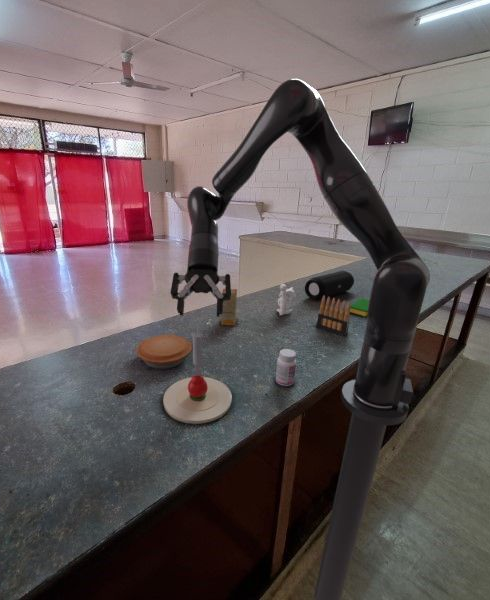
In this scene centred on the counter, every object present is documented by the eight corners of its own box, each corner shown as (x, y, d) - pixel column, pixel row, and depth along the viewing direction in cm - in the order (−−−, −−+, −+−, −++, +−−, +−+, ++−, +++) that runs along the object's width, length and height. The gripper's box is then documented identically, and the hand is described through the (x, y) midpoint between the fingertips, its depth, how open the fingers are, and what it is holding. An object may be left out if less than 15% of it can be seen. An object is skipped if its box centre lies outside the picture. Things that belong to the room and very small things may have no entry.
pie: (163, 381, 81) (162, 364, 79) (125, 360, 89) (124, 344, 88) (202, 356, 92) (202, 341, 90) (166, 340, 101) (165, 326, 99)
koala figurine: (282, 318, 120) (285, 288, 115) (269, 312, 125) (272, 283, 120) (297, 313, 125) (300, 284, 120) (284, 307, 130) (287, 279, 125)
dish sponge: (347, 311, 127) (348, 306, 126) (361, 303, 137) (361, 297, 136) (365, 316, 123) (366, 311, 122) (378, 307, 132) (379, 302, 131)
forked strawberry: (207, 389, 76) (207, 330, 71) (208, 402, 72) (208, 339, 66) (187, 390, 76) (186, 330, 70) (188, 403, 72) (186, 340, 66)
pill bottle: (290, 388, 79) (294, 359, 76) (272, 382, 81) (275, 354, 78) (296, 379, 83) (299, 351, 80) (279, 373, 85) (281, 346, 82)
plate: (241, 389, 78) (241, 386, 78) (214, 433, 65) (214, 429, 64) (185, 373, 84) (185, 370, 84) (149, 410, 70) (149, 407, 70)
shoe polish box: (235, 319, 117) (237, 289, 113) (235, 325, 112) (236, 294, 108) (222, 319, 117) (223, 288, 113) (221, 324, 113) (221, 293, 109)
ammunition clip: (347, 334, 108) (353, 301, 104) (345, 335, 107) (351, 302, 103) (318, 324, 115) (322, 293, 111) (316, 326, 113) (320, 295, 109)
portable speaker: (319, 303, 135) (323, 281, 131) (301, 297, 142) (304, 275, 138) (353, 293, 149) (357, 272, 145) (335, 287, 156) (338, 267, 153)
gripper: (173, 246, 76) (166, 308, 70) (232, 247, 76) (231, 309, 70) (177, 262, 83) (171, 320, 76) (231, 263, 83) (230, 321, 76)
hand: (199, 315), depth 73 cm, fingers open, 8 cm apart
